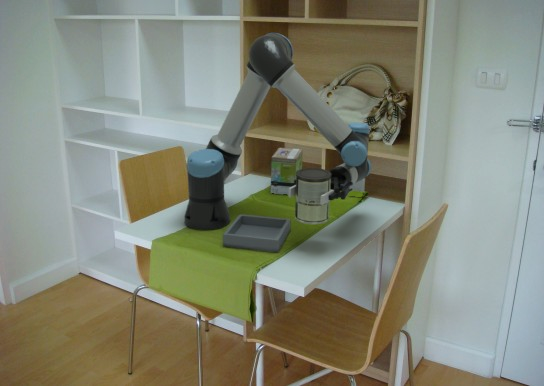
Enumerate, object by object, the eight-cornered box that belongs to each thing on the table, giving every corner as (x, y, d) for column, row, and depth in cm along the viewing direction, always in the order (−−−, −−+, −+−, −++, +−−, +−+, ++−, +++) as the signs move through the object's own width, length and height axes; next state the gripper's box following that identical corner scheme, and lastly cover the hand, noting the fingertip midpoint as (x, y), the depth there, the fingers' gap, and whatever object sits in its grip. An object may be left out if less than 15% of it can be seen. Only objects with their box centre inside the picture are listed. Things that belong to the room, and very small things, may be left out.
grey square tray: (223, 246, 170) (222, 234, 169) (239, 225, 186) (239, 214, 184) (277, 252, 166) (278, 240, 165) (290, 230, 182) (290, 219, 180)
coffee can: (288, 215, 170) (289, 170, 166) (317, 209, 175) (319, 166, 170) (305, 227, 162) (307, 180, 157) (335, 221, 166) (338, 175, 161)
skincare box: (364, 192, 217) (365, 174, 215) (362, 198, 212) (363, 179, 209) (348, 191, 219) (349, 173, 216) (346, 196, 213) (347, 178, 211)
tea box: (296, 196, 213) (296, 158, 209) (270, 194, 215) (270, 156, 210) (302, 183, 227) (302, 148, 222) (277, 182, 229) (277, 146, 224)
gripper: (373, 195, 175) (339, 217, 158) (310, 182, 187) (272, 200, 169) (375, 172, 172) (341, 192, 155) (311, 160, 184) (272, 176, 167)
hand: (305, 196), depth 162 cm, fingers closed on coffee can, 10 cm apart
